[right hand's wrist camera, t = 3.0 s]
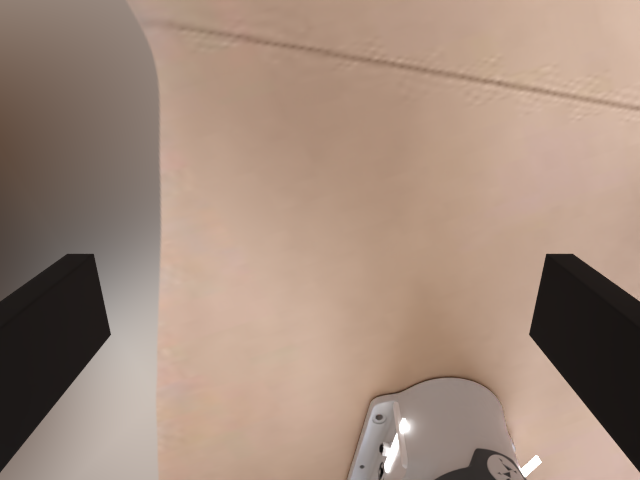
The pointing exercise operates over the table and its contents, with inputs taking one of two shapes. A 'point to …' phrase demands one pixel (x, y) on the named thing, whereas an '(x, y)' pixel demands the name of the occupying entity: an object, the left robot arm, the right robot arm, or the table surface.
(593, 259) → the table surface
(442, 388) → the left robot arm
